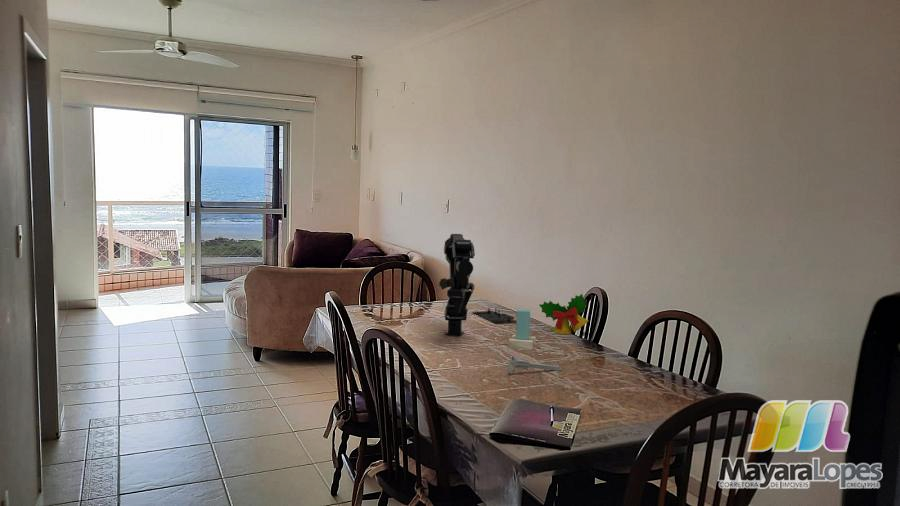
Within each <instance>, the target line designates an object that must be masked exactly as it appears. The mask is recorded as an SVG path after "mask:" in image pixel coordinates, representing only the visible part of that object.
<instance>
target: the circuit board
mask: <svg viewBox="0 0 900 506" xmlns="http://www.w3.org/2000/svg"><path fill="white" fill-rule="evenodd" d="M500 312H501V311H500V310H499V309H498V311H497V308H495V311H492V310H491V308H489V307H488V308H487V311H472V312H471V314H472V313H473V314H472V315H475V314H476V315H475V316H477V315H478V317H479V316H480V317H479V318H481V317H482V319H483V318H484V319H483V320H486V321H487V322H490V323H493V325H507V324H516V322H517V320H515V317H514V316H512V315H509V314H506V313H500Z"/></svg>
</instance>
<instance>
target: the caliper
mask: <svg viewBox="0 0 900 506" xmlns="http://www.w3.org/2000/svg"><path fill="white" fill-rule="evenodd" d="M511 356H512V357H511V358H510V359H509V361H508V365H507V374H509V375H511V373H512V374H513V375H516V374H517V372H518V371H519V368H521V369H522V370H528V369H539V370H548V371H554V372H557V371H564V368H562V367H561V366H559V365H550V364H543V363H542V364H541V363H535V362H530V361H528V360H524V359H523V360H521V359H518V357H517V356H515V357H514V356H513V355H511Z"/></svg>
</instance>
